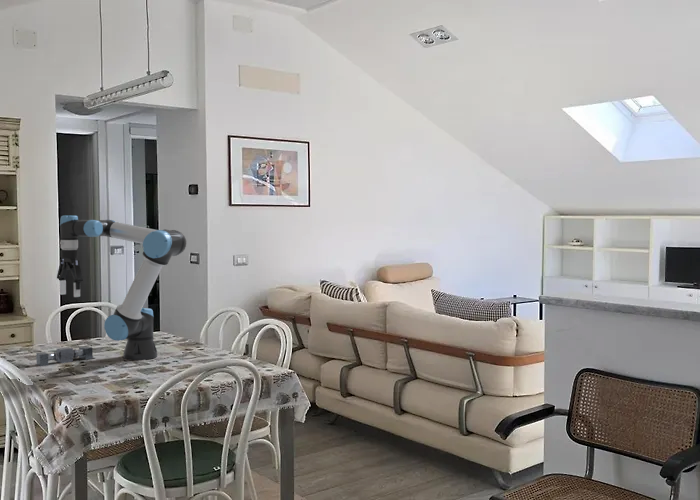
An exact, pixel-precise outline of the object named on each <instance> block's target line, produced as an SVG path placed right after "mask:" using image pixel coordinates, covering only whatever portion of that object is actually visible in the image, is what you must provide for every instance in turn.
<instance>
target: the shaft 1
mask: <svg viewBox="0 0 700 500" xmlns="http://www.w3.org/2000/svg"><path fill="white" fill-rule="evenodd" d="M35 355H36V365H37V366H39V367H44V366H49V361H56V362H57V360H58V353H57V351H54V352H53V353H52V352H51V353H47V352H46V351H41V352H36V354H35Z"/></svg>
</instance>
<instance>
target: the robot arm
mask: <svg viewBox="0 0 700 500" xmlns="http://www.w3.org/2000/svg"><path fill="white" fill-rule="evenodd" d="M59 222H60V223H59V228H60V231H59V232H60V242H59V244H60V249H61V250H60V259H59V266H58V270H57V274H56V279H57V280H58V282H59V295H60V296H62V295H67V281H66V280H67V279H66V277H67V274H68V273H69V272H70V273H71V275H72V279H73V298H79V297H81V282H83V281H84V277H83V273H82V269H81V266H80V265H81V264H80V260H77V258H78V257H79V250H78V248H79V237H84V238H85V237H86V238H88V237H90V238H96V237H107V238H113V239H119V240H122V241H127V242H133V243H138V244H142V249H143V250H142V251H143V252H142V257H143V260H142V262H141V264H140V267H139V269H138V271H137V272H136V275H135V276H134V278H133V281H132V283H131V285H130V287H129V288H128V291H127V294H126V296H125V297H124V299H123V302H122V303H121V304H118V305H117V306H116V308H115V310H114V313H112V314H110V315H109V316H107V317H106V318H105V320H104V324H103V325H104V327H103V328H104V331H105V334H106V336H108V338H109V339H111V340H113V341H118V342H119V341H125V340H126V339H127V340H126V343H125V347H124V351H123V359H125V360H130V361H131V360H132V361H142V360H143V361H144V360H152V359H154V358H157V357H158V349H157V347H156V343H155V341H154V317H155V316H154V311H153V309H152V308H149V307H148V308H145V307H144V305H145V303H146V302H147V299H148V297H149V295H150V293H151V291H152V289H153V287H154V285H155V283H156V280H157V279H158V276H159V275H160V272H162V271H161V270H162V268H163V267H165V266H168V265H169V262H170V260H171V258H172V257H175V256H176V257H177V256H179V255H181V254H182V253H183V252H184V251H185V250H186V247H187V239H186V236H185V235H184V233H182V232H181V231H179V230H177V229H176V230H175V229H170V230H169V229H165V228H164V229H154V228H149V227H144V226H138V225H134V224H133V225H132V224H127V223H124V222H119V221H115V220H112V219H79V216H78V215H61V216H60V221H59Z"/></svg>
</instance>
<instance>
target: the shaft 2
mask: <svg viewBox="0 0 700 500" xmlns="http://www.w3.org/2000/svg"><path fill="white" fill-rule="evenodd" d="M93 352H94V351H93V347H91V346H80V347H78V349H73V359H76V358H79V359H82V360H89V359H90V360H91V359H93Z"/></svg>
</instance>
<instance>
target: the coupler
mask: <svg viewBox="0 0 700 500" xmlns="http://www.w3.org/2000/svg"><path fill="white" fill-rule="evenodd" d="M73 350H74V349H73V348H72V347H70V346H69V347H61V348H60V347H59V348H56V352H57V353H58V360H57V361H56V363H59V364H65V363H66V364H67V363H73V362H74V358H73Z"/></svg>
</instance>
